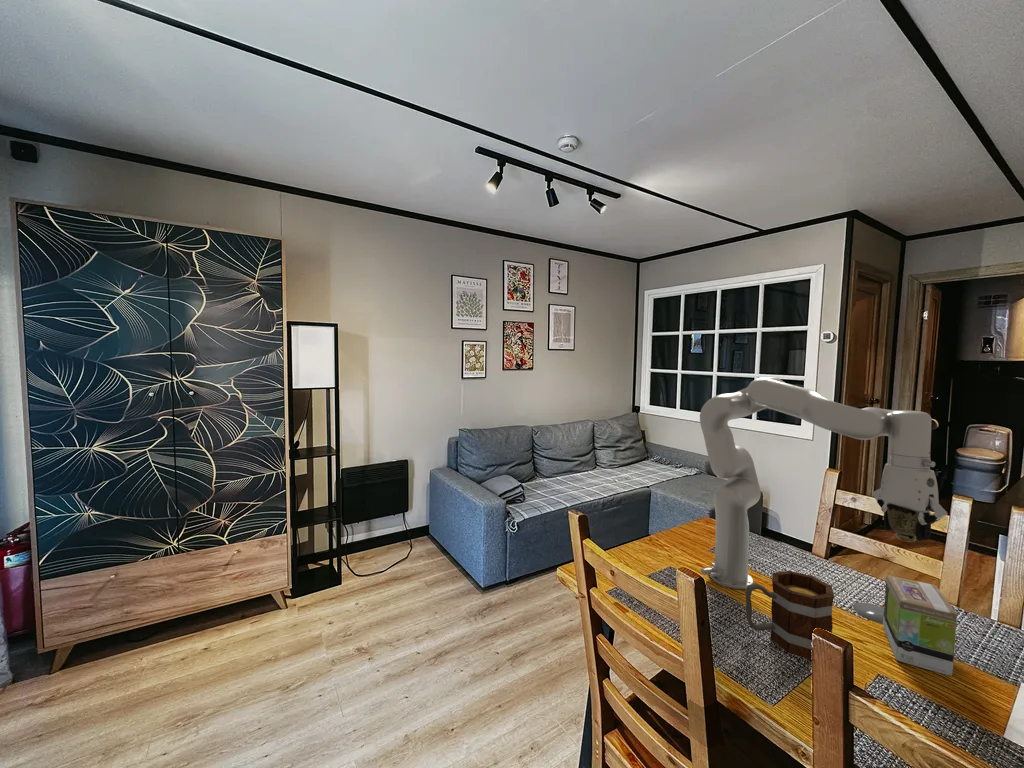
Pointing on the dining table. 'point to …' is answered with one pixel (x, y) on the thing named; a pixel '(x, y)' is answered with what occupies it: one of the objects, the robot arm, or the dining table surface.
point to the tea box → (919, 624)
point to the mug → (795, 610)
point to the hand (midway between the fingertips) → (906, 533)
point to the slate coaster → (870, 611)
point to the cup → (903, 522)
